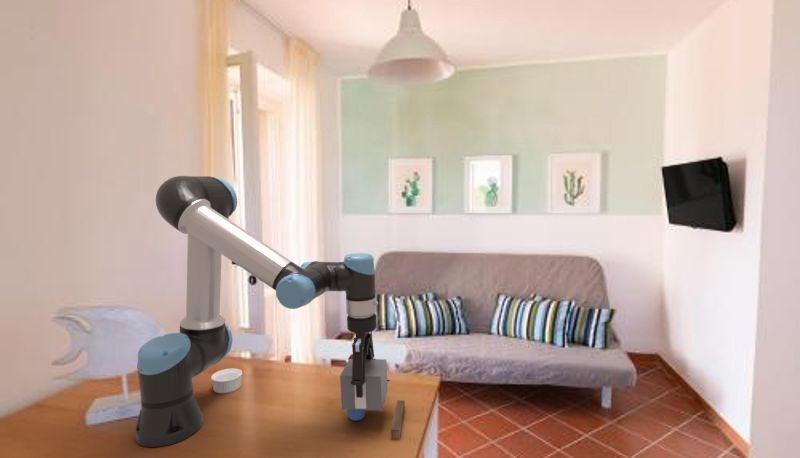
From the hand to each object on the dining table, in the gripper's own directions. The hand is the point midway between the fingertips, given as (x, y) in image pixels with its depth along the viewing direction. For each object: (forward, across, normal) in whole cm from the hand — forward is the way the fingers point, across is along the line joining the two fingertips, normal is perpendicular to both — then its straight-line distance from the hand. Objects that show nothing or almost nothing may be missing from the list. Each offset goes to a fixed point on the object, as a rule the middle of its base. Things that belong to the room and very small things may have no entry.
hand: (365, 396), depth 109 cm
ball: (+4, 0, +2) cm, 5 cm away
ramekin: (+6, +15, +46) cm, 49 cm away
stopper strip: (+6, -1, -9) cm, 11 cm away
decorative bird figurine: (+6, +15, +2) cm, 17 cm away
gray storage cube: (+1, 0, 0) cm, 1 cm away
